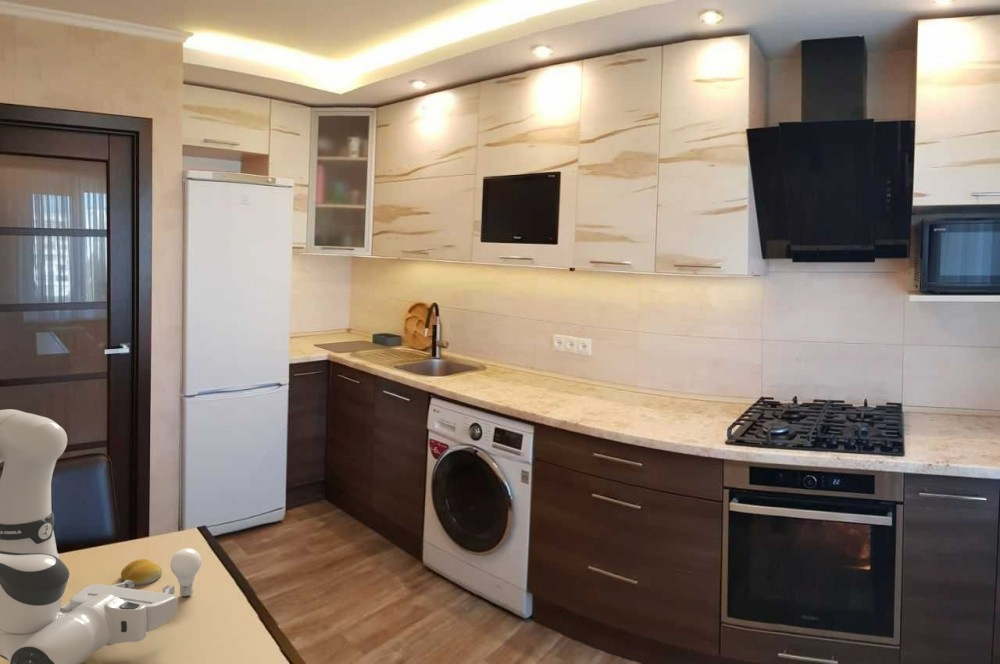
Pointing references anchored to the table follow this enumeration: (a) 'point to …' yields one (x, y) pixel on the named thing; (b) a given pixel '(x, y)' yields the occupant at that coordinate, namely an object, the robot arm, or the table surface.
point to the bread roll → (141, 572)
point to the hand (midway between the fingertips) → (151, 586)
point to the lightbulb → (186, 569)
